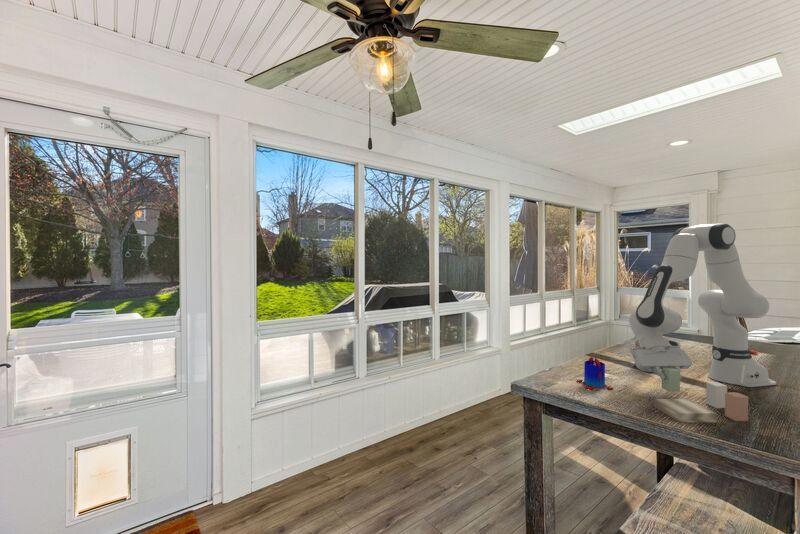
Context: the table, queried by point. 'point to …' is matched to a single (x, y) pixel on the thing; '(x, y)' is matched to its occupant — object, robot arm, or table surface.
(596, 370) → the fantasy tower
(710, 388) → the off-white pillar
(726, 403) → the terracotta pillar
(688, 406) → the birch plinth
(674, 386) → the sage pillar
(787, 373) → the table surface
